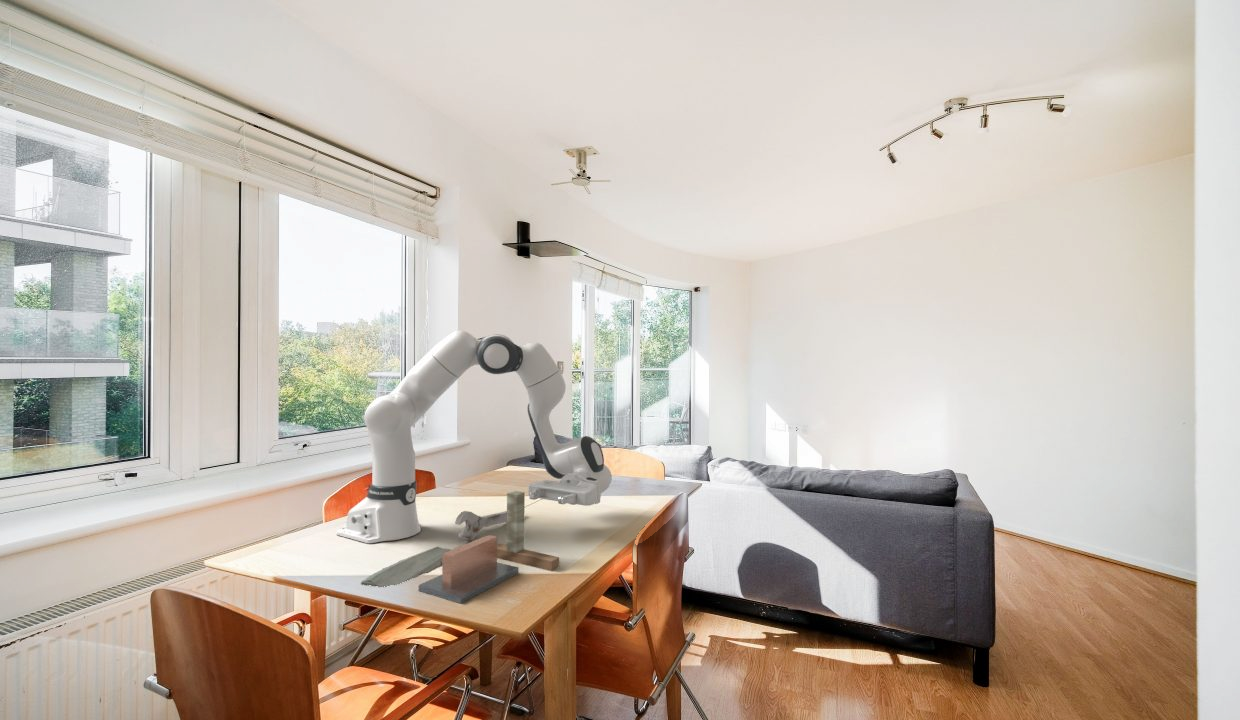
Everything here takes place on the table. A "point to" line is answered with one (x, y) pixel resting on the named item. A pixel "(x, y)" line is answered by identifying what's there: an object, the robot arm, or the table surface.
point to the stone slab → (407, 568)
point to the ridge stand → (469, 571)
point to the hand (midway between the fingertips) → (545, 498)
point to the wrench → (478, 522)
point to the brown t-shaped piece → (521, 538)
